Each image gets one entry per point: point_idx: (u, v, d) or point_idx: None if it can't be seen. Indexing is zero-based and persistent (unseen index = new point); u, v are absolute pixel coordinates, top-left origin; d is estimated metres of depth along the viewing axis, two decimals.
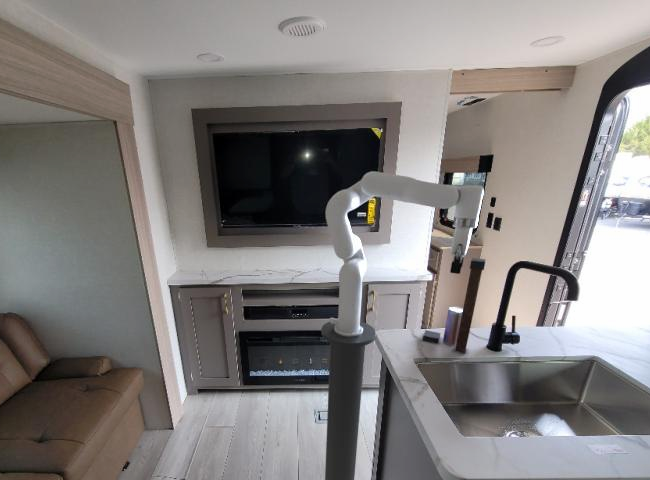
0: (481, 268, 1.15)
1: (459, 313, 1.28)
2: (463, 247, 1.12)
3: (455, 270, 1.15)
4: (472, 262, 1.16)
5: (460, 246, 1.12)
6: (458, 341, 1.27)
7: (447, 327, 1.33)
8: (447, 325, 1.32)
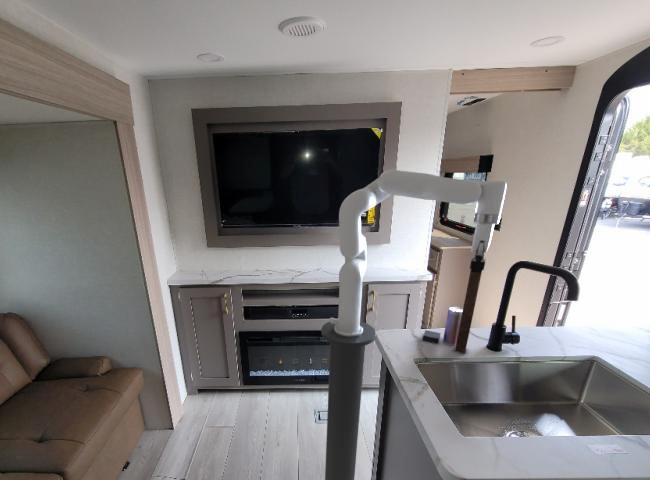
0: None
1: (459, 313, 1.28)
2: (485, 244, 1.09)
3: (476, 269, 1.15)
4: (472, 262, 1.16)
5: (482, 245, 1.10)
6: (458, 341, 1.27)
7: (447, 327, 1.33)
8: (447, 325, 1.32)
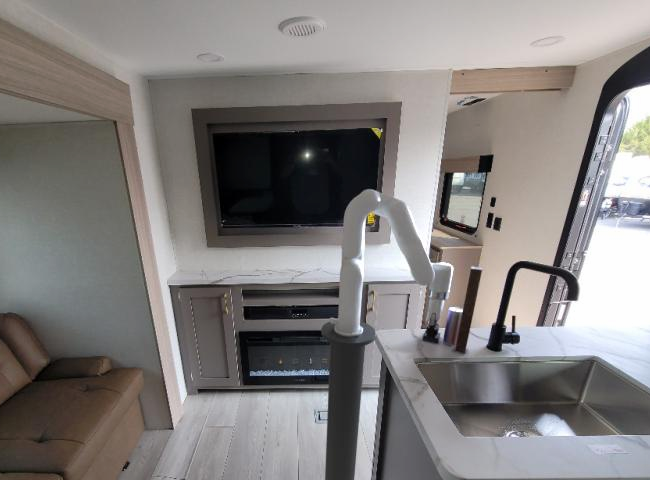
0: (435, 334, 1.35)
1: (459, 313, 1.28)
2: (436, 316, 1.29)
3: (430, 335, 1.34)
4: (427, 328, 1.36)
5: (433, 317, 1.30)
6: (458, 341, 1.27)
7: (447, 327, 1.33)
8: (447, 325, 1.32)
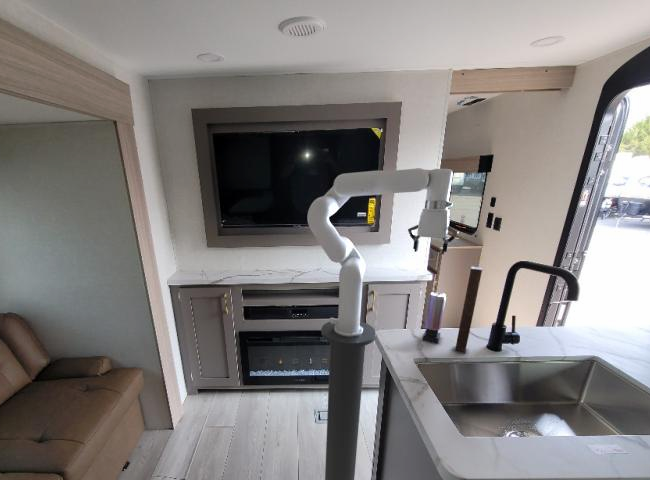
0: (434, 335, 1.35)
1: (440, 298, 1.29)
2: (418, 226, 1.21)
3: None
4: (427, 330, 1.36)
5: (416, 225, 1.22)
6: (458, 341, 1.27)
7: (429, 312, 1.33)
8: (429, 310, 1.33)
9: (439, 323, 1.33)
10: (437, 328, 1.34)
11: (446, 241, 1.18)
